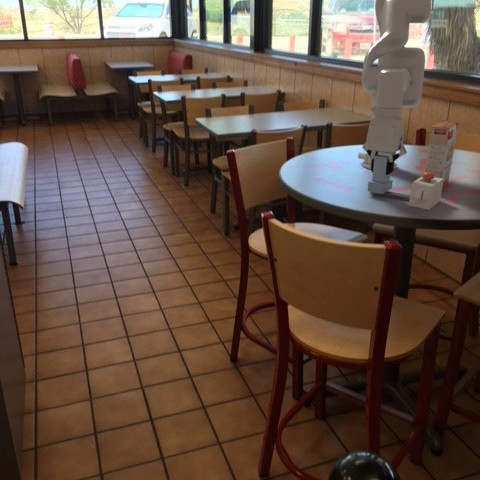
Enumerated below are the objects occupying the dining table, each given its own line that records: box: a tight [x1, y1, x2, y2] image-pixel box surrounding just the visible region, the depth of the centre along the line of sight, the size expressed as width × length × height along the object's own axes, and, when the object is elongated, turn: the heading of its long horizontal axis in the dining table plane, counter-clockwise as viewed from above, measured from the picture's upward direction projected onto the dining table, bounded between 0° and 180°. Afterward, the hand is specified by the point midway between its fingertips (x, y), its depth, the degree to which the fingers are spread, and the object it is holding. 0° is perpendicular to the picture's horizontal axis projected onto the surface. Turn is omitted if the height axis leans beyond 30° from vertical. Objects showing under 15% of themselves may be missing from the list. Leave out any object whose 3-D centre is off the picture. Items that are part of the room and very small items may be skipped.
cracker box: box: [424, 119, 460, 190], centre depth 166 cm, size 14×6×21 cm, turn 148°
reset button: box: [421, 171, 435, 183], centre depth 151 cm, size 3×3×3 cm
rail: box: [369, 190, 410, 202], centre depth 160 cm, size 14×2×1 cm, turn 52°
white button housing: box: [408, 176, 444, 210], centre depth 153 cm, size 6×10×7 cm, turn 142°
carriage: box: [367, 154, 394, 194], centre depth 160 cm, size 5×7×11 cm
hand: (381, 172), depth 160 cm, fingers closed on carriage, 4 cm apart
